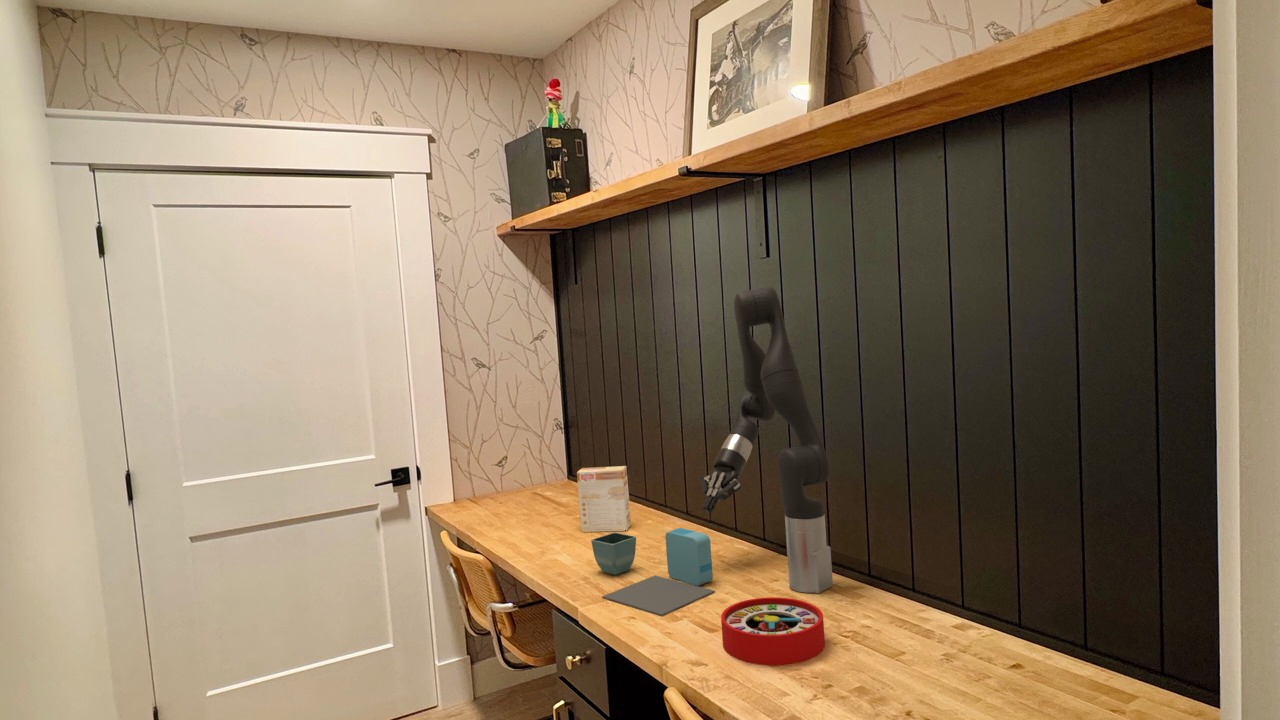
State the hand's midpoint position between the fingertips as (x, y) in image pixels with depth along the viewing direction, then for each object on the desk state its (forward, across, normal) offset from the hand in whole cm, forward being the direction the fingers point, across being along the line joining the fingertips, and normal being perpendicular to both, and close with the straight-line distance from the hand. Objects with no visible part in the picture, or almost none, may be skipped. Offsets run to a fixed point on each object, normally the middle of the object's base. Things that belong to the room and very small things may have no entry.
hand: (706, 510), depth 202 cm
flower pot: (+21, -21, +1) cm, 30 cm away
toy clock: (+30, +39, -7) cm, 50 cm away
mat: (+25, +1, -3) cm, 26 cm away
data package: (+17, 0, +6) cm, 18 cm away
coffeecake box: (+2, -55, +21) cm, 59 cm away
